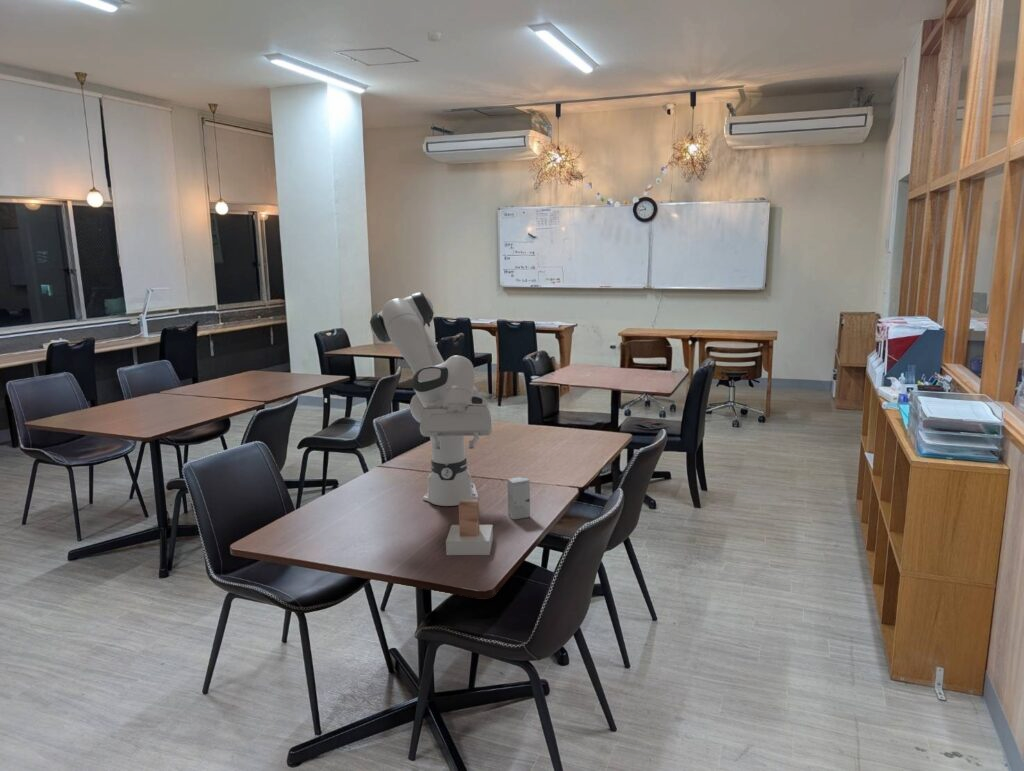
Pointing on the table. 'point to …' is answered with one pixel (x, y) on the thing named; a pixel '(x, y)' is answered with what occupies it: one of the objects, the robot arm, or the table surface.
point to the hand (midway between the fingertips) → (454, 448)
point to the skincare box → (518, 498)
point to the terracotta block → (469, 517)
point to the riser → (469, 541)
